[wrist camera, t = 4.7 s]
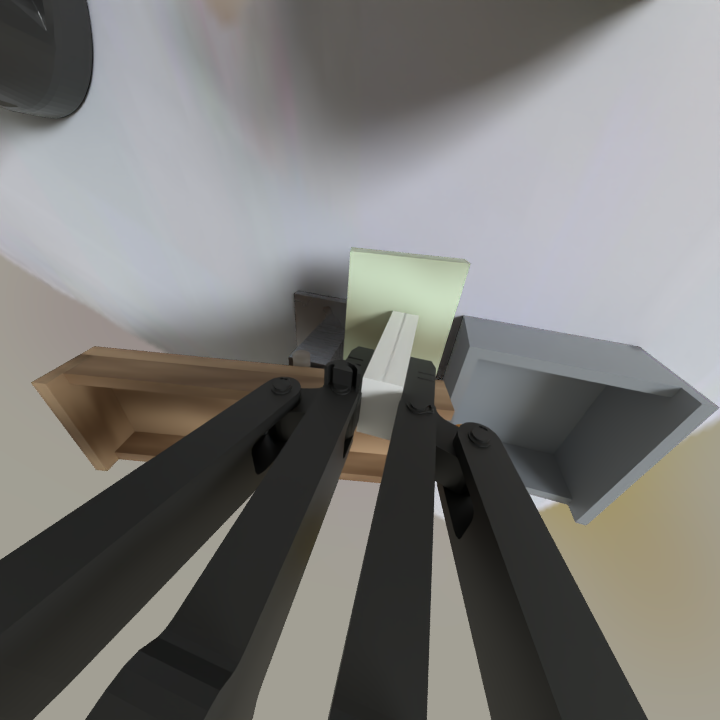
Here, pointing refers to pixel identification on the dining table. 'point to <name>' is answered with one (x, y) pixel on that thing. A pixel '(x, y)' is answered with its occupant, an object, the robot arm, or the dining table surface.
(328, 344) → the stand
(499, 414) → the grey tray
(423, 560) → the robot arm
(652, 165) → the dining table surface
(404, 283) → the chute
